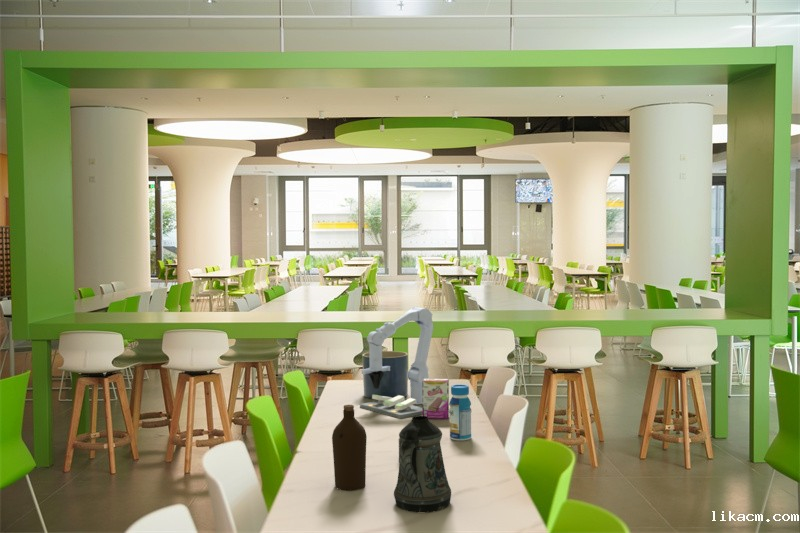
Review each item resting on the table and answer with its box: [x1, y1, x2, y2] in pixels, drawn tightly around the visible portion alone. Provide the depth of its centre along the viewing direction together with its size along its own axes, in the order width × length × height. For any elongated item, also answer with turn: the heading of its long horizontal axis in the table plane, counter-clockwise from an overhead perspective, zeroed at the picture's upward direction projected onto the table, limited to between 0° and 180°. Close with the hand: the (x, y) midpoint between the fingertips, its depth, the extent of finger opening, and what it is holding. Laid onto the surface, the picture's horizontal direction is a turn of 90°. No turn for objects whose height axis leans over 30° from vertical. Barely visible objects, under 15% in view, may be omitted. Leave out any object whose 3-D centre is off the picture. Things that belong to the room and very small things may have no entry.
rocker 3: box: [395, 397, 417, 410], centre depth 341 cm, size 9×4×2 cm, turn 128°
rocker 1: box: [371, 395, 392, 401], centre depth 354 cm, size 9×4×2 cm, turn 128°
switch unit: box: [359, 400, 423, 420], centre depth 348 cm, size 16×30×3 cm, turn 38°
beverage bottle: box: [449, 384, 472, 442], centre depth 297 cm, size 8×8×20 cm
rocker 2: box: [383, 395, 405, 407], centre depth 348 cm, size 9×4×2 cm, turn 128°
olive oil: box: [331, 404, 368, 491], centre depth 241 cm, size 11×11×25 cm
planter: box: [361, 350, 409, 400], centre depth 381 cm, size 22×22×20 cm
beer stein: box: [393, 415, 452, 513], centre depth 223 cm, size 16×19×25 cm
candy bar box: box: [422, 378, 450, 420], centre depth 331 cm, size 11×5×16 cm, turn 84°
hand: (376, 388), depth 352 cm, fingers closed
